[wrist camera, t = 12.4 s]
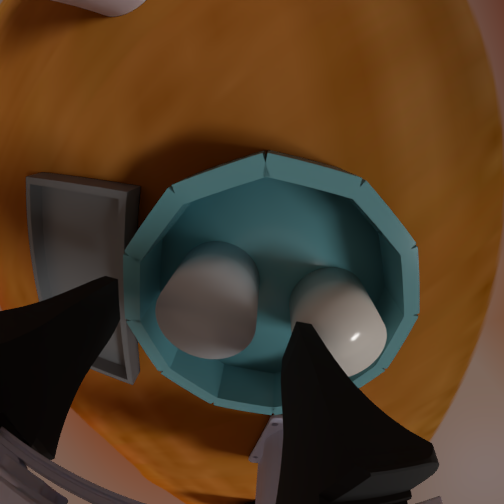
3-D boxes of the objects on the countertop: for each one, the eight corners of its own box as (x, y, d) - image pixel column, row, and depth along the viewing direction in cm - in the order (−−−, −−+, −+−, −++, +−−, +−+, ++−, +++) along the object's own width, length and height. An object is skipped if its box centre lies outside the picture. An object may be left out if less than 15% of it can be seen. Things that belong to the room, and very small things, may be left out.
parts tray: (140, 370, 18) (133, 384, 17) (62, 340, 18) (53, 350, 17) (140, 186, 13) (126, 192, 12) (42, 172, 13) (26, 176, 11)
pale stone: (348, 337, 15) (362, 382, 11) (280, 326, 14) (281, 374, 11) (376, 275, 13) (402, 315, 10) (301, 259, 13) (311, 299, 10)
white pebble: (250, 319, 14) (245, 367, 11) (177, 303, 14) (155, 346, 11) (267, 250, 13) (266, 289, 10) (183, 233, 13) (156, 266, 10)
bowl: (340, 381, 17) (348, 420, 14) (151, 344, 17) (131, 382, 14) (423, 196, 12) (461, 215, 9) (166, 132, 12) (132, 132, 9)
